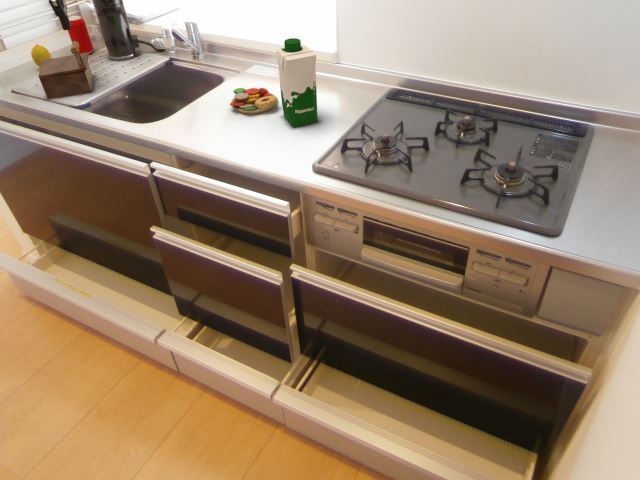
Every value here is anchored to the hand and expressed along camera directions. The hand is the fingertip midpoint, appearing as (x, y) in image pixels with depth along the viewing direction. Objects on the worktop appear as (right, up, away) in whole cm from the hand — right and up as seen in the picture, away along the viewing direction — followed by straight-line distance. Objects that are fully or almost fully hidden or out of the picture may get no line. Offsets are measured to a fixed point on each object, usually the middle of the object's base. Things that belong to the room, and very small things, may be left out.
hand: (67, 28), depth 147 cm
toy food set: (+55, -24, -4) cm, 60 cm away
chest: (-4, -14, +10) cm, 18 cm away
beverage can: (-10, +5, +33) cm, 35 cm away
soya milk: (+68, -29, -12) cm, 75 cm away
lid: (-4, -9, +6) cm, 11 cm away
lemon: (-19, -4, +23) cm, 30 cm away
